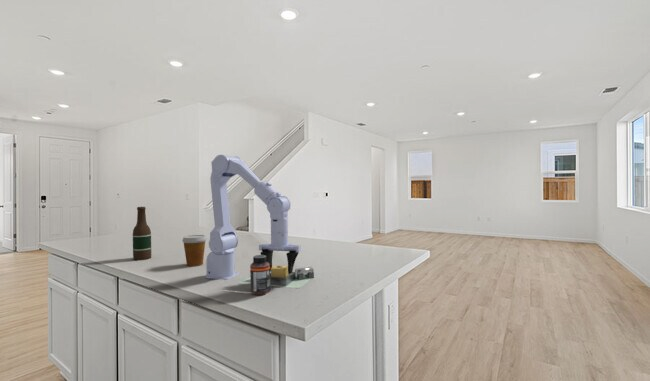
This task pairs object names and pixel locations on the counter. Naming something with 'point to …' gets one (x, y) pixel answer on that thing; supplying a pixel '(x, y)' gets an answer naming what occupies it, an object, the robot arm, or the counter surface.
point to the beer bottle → (141, 237)
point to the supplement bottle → (260, 275)
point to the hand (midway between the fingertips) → (279, 272)
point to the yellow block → (279, 271)
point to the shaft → (304, 273)
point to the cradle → (283, 279)
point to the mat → (293, 284)
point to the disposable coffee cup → (194, 249)
